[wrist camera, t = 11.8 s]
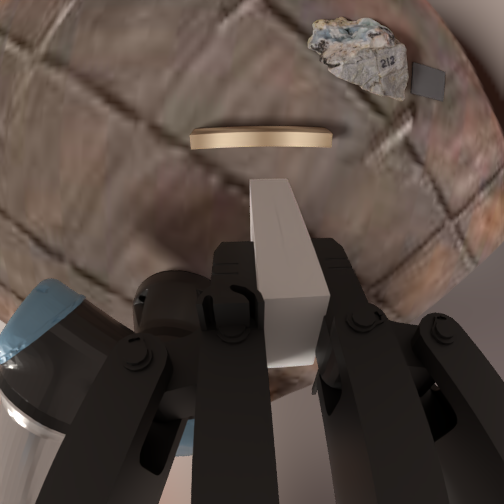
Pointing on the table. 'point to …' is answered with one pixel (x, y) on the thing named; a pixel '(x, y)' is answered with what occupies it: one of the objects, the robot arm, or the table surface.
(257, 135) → the wooden slats
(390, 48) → the mineral specimen
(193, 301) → the robot arm
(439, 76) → the dark gray rectangular slab
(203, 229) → the table surface
